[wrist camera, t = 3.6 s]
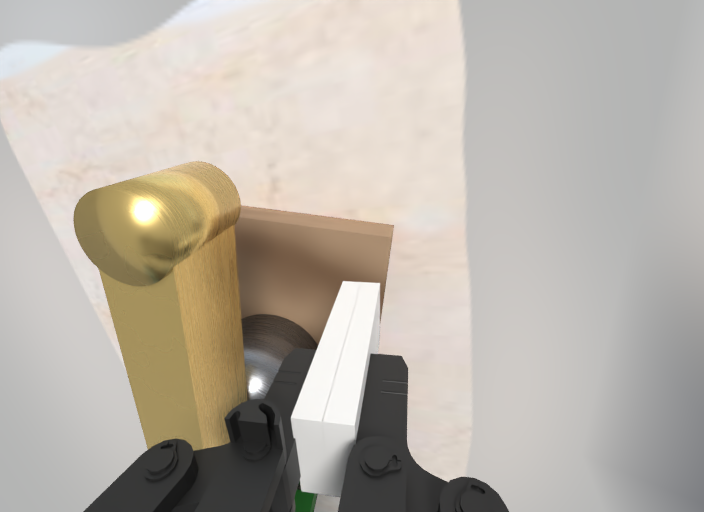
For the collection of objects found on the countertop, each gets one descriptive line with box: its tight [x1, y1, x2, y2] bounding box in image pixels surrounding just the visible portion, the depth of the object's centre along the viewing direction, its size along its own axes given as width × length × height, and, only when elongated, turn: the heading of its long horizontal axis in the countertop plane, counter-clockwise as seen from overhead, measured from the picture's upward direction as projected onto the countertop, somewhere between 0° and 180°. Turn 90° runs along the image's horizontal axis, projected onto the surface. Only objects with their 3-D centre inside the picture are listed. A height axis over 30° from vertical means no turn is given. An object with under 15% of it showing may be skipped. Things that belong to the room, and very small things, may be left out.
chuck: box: [241, 314, 318, 401], centre depth 22 cm, size 13×7×6 cm, turn 175°
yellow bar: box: [74, 161, 247, 451], centre depth 14 cm, size 16×4×4 cm, turn 175°
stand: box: [235, 206, 394, 345], centre depth 25 cm, size 20×14×2 cm
